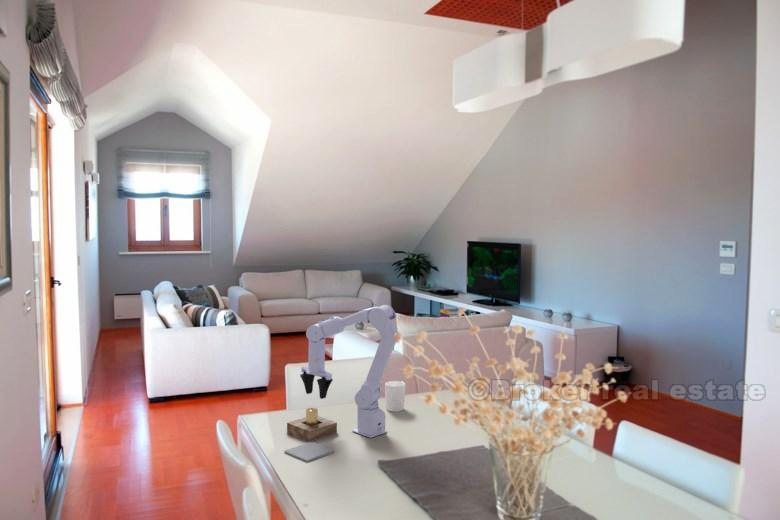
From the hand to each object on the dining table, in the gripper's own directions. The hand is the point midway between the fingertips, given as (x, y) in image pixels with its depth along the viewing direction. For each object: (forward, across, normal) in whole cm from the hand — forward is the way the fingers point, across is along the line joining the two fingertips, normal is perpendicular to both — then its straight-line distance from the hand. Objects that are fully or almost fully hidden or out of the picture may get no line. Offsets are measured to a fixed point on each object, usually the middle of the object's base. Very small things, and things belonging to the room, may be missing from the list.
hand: (315, 395), depth 214 cm
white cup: (+10, +8, +33) cm, 36 cm away
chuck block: (+10, +5, -6) cm, 13 cm away
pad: (+10, +18, -18) cm, 28 cm away
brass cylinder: (+10, +5, -6) cm, 13 cm away
